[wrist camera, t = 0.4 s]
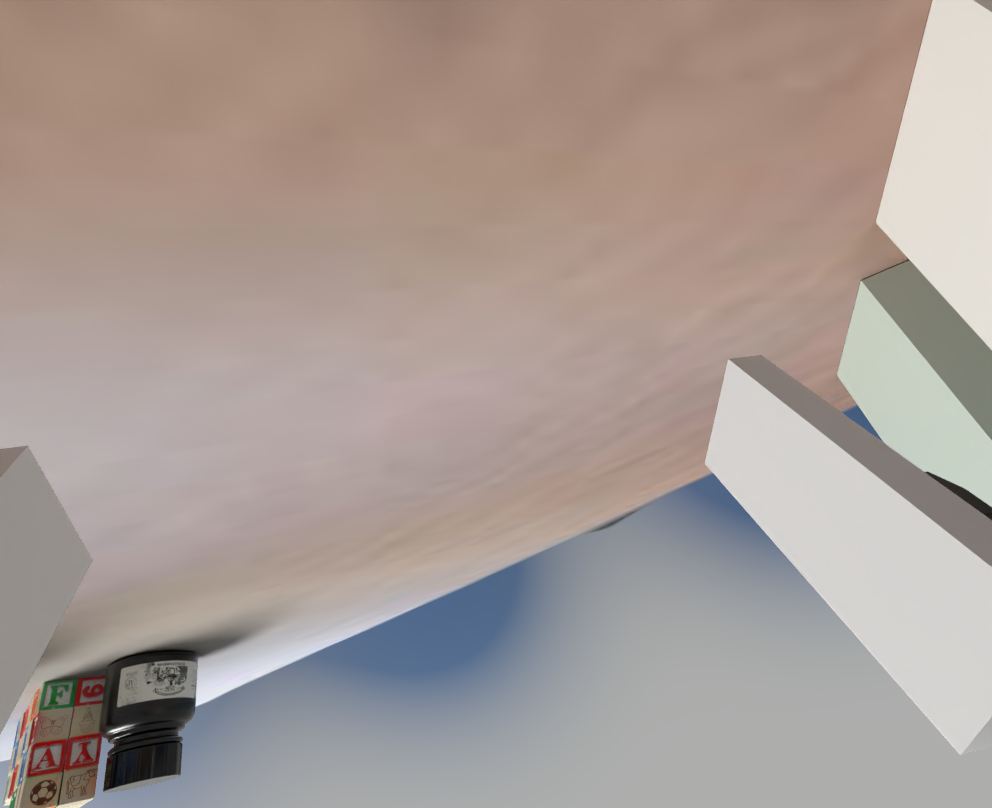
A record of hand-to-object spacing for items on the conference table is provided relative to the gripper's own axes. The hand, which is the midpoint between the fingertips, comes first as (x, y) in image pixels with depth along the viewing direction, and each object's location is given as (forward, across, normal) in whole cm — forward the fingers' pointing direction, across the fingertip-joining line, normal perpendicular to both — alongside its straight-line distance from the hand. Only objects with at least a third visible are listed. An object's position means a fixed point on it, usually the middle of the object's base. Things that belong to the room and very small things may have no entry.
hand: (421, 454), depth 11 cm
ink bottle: (+37, -31, -51) cm, 70 cm away
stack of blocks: (+41, -46, -60) cm, 86 cm away
